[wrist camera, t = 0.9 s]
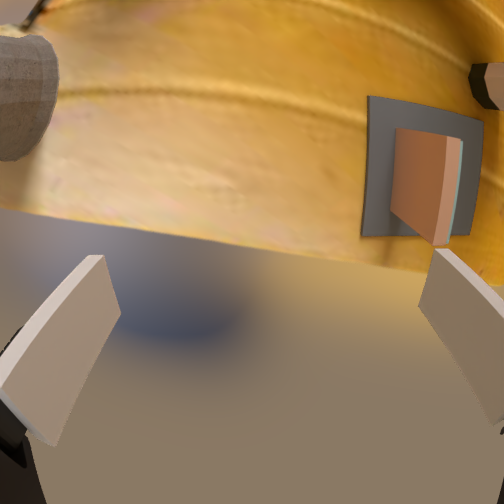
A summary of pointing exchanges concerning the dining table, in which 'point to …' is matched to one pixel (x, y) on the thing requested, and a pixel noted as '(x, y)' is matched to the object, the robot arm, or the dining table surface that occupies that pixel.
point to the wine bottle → (488, 84)
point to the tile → (426, 182)
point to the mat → (383, 154)
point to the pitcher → (26, 93)
